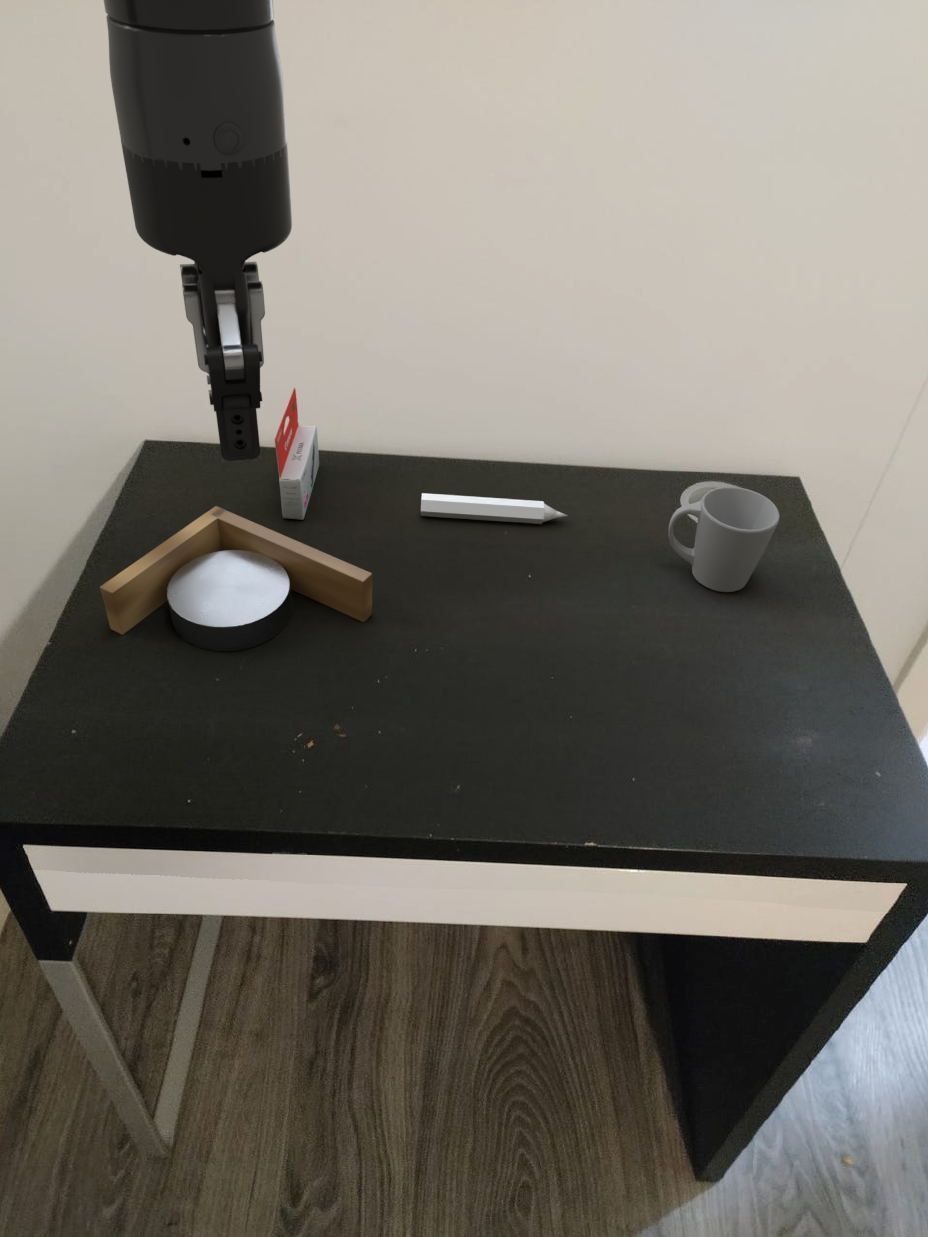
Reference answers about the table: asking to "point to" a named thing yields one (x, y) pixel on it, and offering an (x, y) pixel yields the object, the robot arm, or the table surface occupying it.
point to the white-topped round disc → (229, 600)
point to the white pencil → (487, 508)
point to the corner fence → (223, 530)
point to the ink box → (296, 462)
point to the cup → (727, 536)
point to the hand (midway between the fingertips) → (240, 453)
